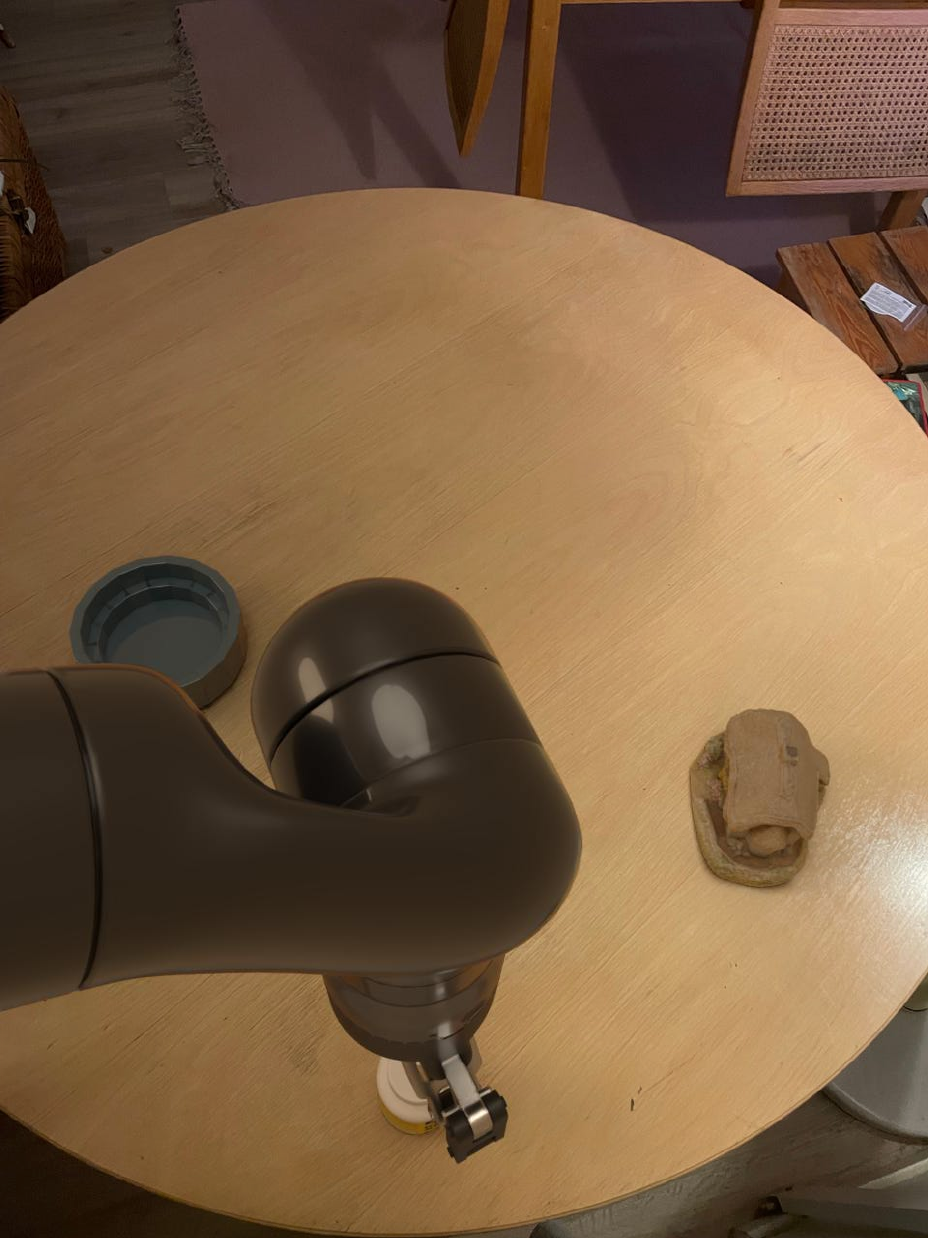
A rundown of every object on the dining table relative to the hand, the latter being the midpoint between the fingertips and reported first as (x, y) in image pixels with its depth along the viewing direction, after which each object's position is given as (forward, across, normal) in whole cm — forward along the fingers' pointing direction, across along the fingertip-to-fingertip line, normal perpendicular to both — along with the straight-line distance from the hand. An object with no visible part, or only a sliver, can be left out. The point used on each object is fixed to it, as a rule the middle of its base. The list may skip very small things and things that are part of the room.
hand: (413, 1029), depth 55 cm
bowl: (+20, -42, -4) cm, 46 cm away
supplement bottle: (+20, 0, 0) cm, 20 cm away
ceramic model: (+20, -6, +34) cm, 40 cm away
